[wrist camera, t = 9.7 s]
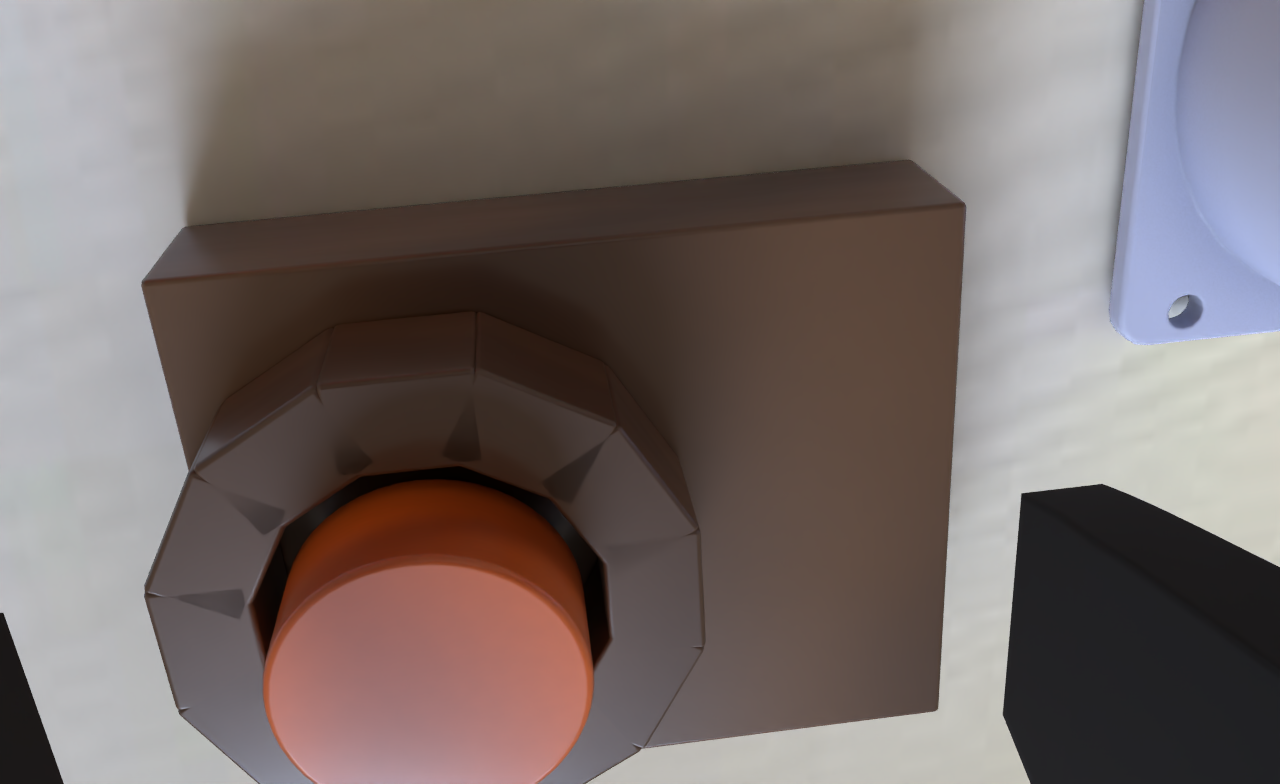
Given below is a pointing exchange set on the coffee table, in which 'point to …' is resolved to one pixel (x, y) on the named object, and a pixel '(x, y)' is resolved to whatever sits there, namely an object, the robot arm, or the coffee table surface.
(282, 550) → the button block
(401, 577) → the button
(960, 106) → the coffee table surface
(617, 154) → the coffee table surface
